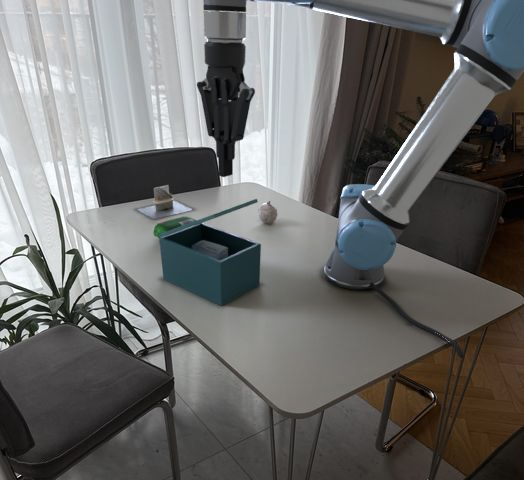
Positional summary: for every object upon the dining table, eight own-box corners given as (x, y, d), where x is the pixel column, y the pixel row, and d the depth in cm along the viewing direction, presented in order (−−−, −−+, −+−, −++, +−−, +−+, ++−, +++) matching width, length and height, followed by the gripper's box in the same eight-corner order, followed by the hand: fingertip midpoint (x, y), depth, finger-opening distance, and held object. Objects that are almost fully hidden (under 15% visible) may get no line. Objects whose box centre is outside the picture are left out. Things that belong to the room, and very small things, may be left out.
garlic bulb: (254, 223, 150) (254, 198, 146) (262, 217, 155) (263, 192, 151) (272, 227, 148) (274, 202, 144) (281, 221, 153) (282, 196, 148)
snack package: (208, 235, 141) (208, 218, 138) (163, 248, 132) (161, 230, 129) (195, 228, 145) (194, 211, 142) (150, 240, 137) (148, 222, 134)
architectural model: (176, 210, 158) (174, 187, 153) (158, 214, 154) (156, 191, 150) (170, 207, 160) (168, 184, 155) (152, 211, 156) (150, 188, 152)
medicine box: (229, 279, 117) (229, 247, 112) (218, 286, 114) (217, 253, 108) (204, 271, 120) (202, 239, 115) (192, 277, 117) (191, 244, 112)
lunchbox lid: (258, 202, 106) (256, 198, 105) (215, 218, 97) (213, 214, 96) (201, 222, 120) (200, 219, 120) (159, 237, 111) (158, 234, 111)
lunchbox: (259, 284, 117) (261, 243, 111) (221, 306, 108) (220, 262, 102) (202, 261, 126) (201, 222, 120) (163, 279, 117) (159, 237, 111)
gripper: (266, 43, 84) (261, 178, 98) (212, 38, 91) (214, 165, 105) (238, 43, 80) (237, 185, 93) (184, 38, 86) (190, 172, 100)
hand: (225, 175), depth 99 cm, fingers closed
